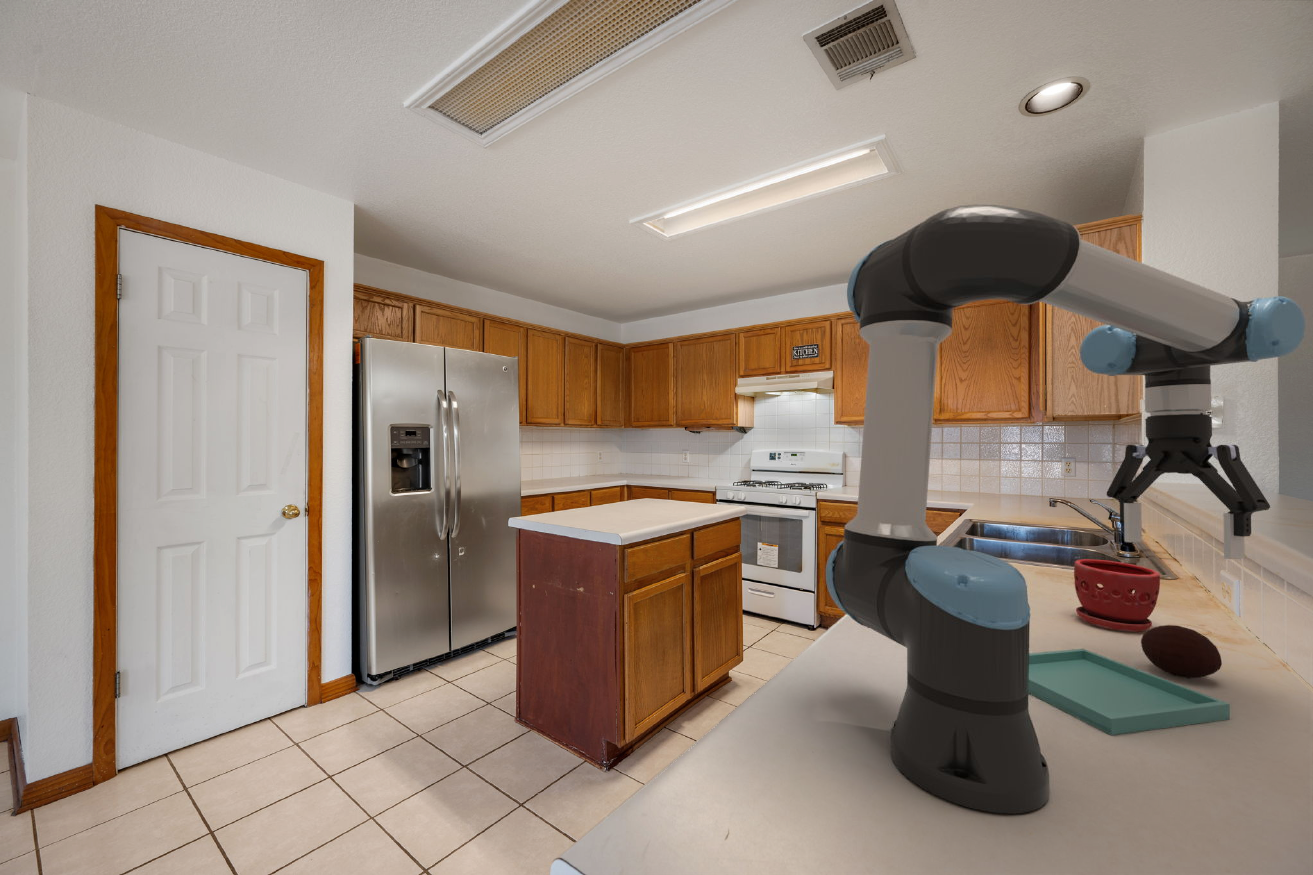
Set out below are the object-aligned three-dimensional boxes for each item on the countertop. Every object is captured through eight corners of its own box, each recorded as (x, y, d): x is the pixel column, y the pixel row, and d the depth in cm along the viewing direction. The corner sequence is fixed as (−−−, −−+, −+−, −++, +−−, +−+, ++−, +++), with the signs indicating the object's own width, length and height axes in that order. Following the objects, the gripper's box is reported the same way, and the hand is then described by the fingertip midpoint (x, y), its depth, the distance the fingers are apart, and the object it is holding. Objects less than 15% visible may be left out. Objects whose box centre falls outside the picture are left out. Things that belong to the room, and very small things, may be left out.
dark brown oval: (1149, 660, 90) (1149, 614, 91) (1228, 680, 83) (1228, 630, 83) (1132, 670, 86) (1132, 622, 86) (1214, 693, 78) (1214, 640, 78)
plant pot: (1092, 632, 104) (1092, 570, 104) (1063, 612, 116) (1062, 556, 116) (1176, 640, 100) (1176, 575, 100) (1136, 618, 112) (1136, 560, 113)
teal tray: (1111, 735, 67) (1111, 718, 67) (983, 670, 86) (983, 657, 86) (1230, 718, 71) (1230, 703, 71) (1083, 660, 90) (1083, 648, 90)
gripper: (1304, 409, 73) (1307, 565, 73) (1113, 417, 98) (1115, 535, 98) (1264, 408, 72) (1267, 568, 72) (1080, 417, 96) (1082, 536, 96)
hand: (1179, 549), depth 85 cm, fingers open, 13 cm apart
